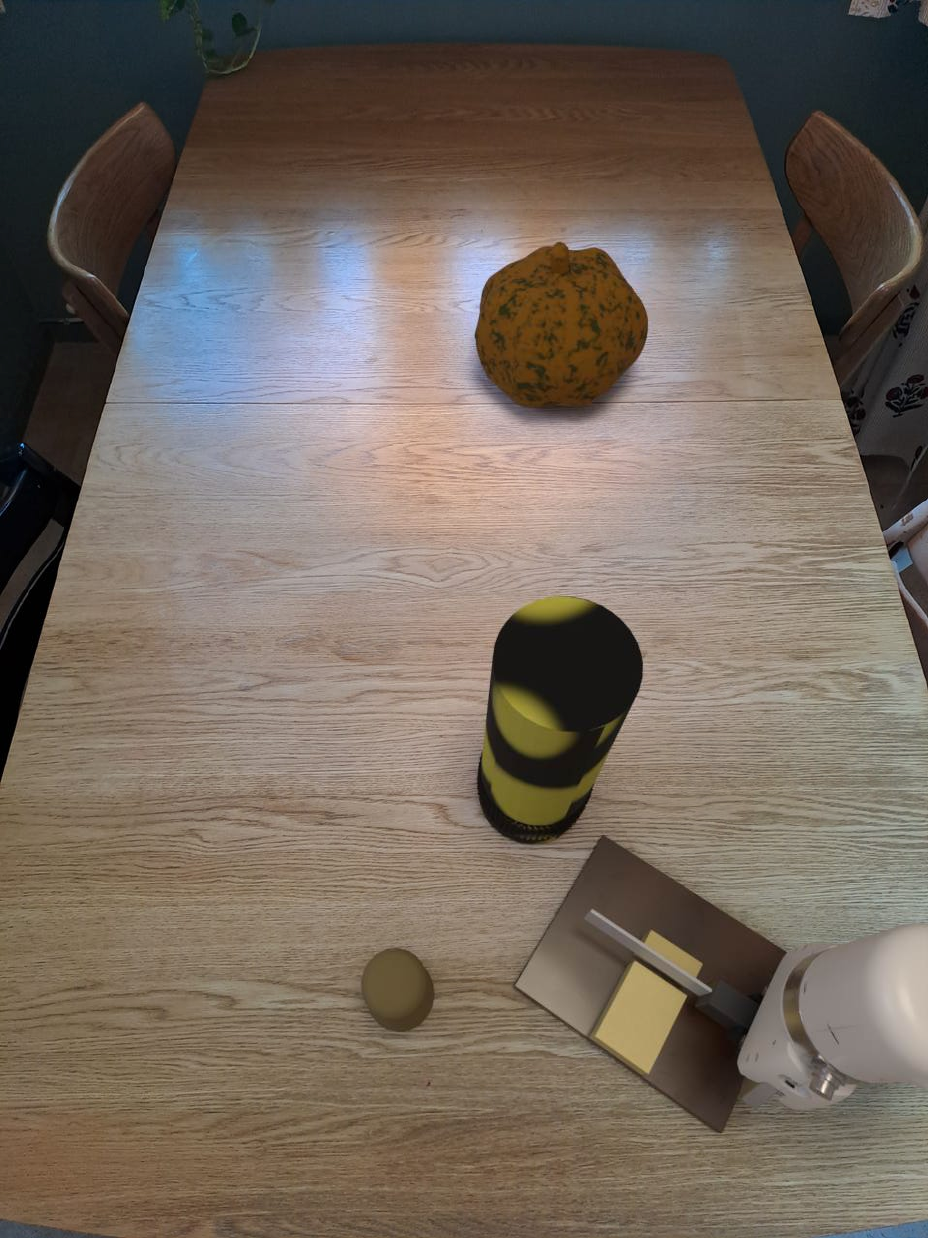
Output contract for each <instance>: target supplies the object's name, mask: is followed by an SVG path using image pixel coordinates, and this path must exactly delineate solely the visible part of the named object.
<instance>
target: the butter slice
mask: <svg viewBox="0 0 928 1238" xmlns="http://www.w3.org/2000/svg"><path fill="white" fill-rule="evenodd" d="M641 942H643V943H644V944H646V945H647V946H649V947H650V948H652V949H653V950H655V951H656V952H658V953H659V954H661V955H662V956H664V957H665V958H667V959H668V960H670V961H671V962H673V963H674V964H676V965H677V966H679V967H680V968H682V969H683V970H685V971H686V972H688V973H689V974H691V975H692V976H694V977H695V978H696V977H697V975H698V973H699V971H700V969H701V967H702V965H703V964H702V963H701V962H700V961H698V960H697V959H695V958H694V957H692V956H691V955H689V954H688V953H686V952H684V951H683V950H681V949H680V948H678V947H677V946H675V945H674V944H672V943H671V942H669V941H668V940H666V939H665V938H663V937H662V936H660V935H659V934H657V933H656V932H654V931H653V930H650V931H649V932H648V933H646V934H645V935H644V936H643V937H642V939H641ZM634 955H635V956H637V957H638V958H640V959H641V960H643V961H644V962H645V963H647V964H648V965H650V966H651V967H653V968H654V969H656V970H657V971H659V972H660V973H662V974H663V975H665V976H666V977H668V978H669V979H671V980H672V981H674V982H675V983H677V984H678V985H680V986H681V987H683V988H685V986H683V985H682V984H680V983H679V982H677V981H676V980H674V979H673V978H671V977H670V976H668V975H667V974H665V973H664V972H662V971H661V970H659V969H658V968H656V967H655V966H653V965H652V964H650V963H649V962H648V961H646V960H645V959H643V958H642V957H640V956H639V955H637V954H636V953H634Z"/></svg>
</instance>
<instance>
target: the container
mask: <svg viewBox="0 0 928 1238" xmlns="http://www.w3.org/2000/svg"><path fill="white" fill-rule="evenodd" d="M643 678H644V660H643V655H642V651H641V647H640V645H639V643H638V641H637V638H636V637H635V635H634V634H633V632H632V630H631V629H630V628H629V626H628V625H627V624H626V623H625V622H624V621H623V619H621V618H620V617H619V616H618V615H617V614H615V612H614V611H612V610H610V609H608V608H607V607H605V606H604V605H602V604H599V603H597V602H595V601H592V600H589V599H586V598H581V597H576V596H569V595H568V596H567V595H559V596H558V595H557V596H549V597H544V598H541V599H537V600H534V601H532V602H530V603H528V604H526V605H524V606H522V607H521V608H519V609H518V610H517V611H515V612H514V613H513V614H512V615H511V616H510V617H508V619H507V620H506V621H505V622H504V624H503V625H502V627H501V628H500V630H499V631H498V634H497V637H496V640H495V642H494V644H493V652H492V660H491V669H490V678H489V688H488V697H487V705H486V707H487V708H486V714H485V715H486V717H485V726H484V735H483V745H482V750H481V751H480V756H479V759H478V760H479V761H478V765H477V775H476V790H477V795H478V801H479V805H480V807H481V809H482V812H483V814H484V817H485V818H486V820H487V821H488V823H489V824H490V826H491V827H492V828H494V829H495V830H496V831H497V832H498V833H499V834H501V836H503V837H505V838H508V839H509V840H511V841H514V842H516V843H519V844H526V845H538V844H546V843H549V842H550V841H553V840H556V839H558V838H560V837H561V836H562V835H563V834H565V833H566V832H568V831H569V830H570V828H572V826H573V825H574V824H576V823H577V820H580V818H581V816H582V814H583V813H584V811H585V809H586V807H587V805H588V802H589V800H590V799H591V797H592V793H593V791H594V786H595V783H596V780H597V778H598V776H599V774H600V772H601V770H602V768H603V766H604V764H605V762H606V761H607V760H606V759H607V757H608V755H609V753H610V752H611V749H612V748H613V746H614V743H615V742H616V740H617V737H618V735H619V733H620V731H621V729H622V727H623V725H624V723H625V721H626V719H627V717H628V715H629V713H630V711H631V708H632V707H633V705H634V703H635V700H636V699H637V696H638V694H639V692H640V688H641V685H642V682H643Z"/></svg>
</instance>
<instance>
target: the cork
mask: <svg viewBox="0 0 928 1238" xmlns="http://www.w3.org/2000/svg"><path fill="white" fill-rule="evenodd" d="M360 985H361V995H362V997H363V1000H364V1002H365V1005H366V1006H367V1008H368V1010H369V1013H370V1015H371V1017H372V1018H373V1019H374V1021H375V1022H376V1023H377V1024H378V1025H379V1026H381V1028H384V1029H386V1030H387V1031H391V1032H396V1033H401V1032H408V1031H411V1030H413V1029H415V1028H417V1027H419V1026H420V1025H421V1024H422V1023H423V1022H424V1021H425V1020H426V1019H427V1018H428V1017H429V1014H430V1013H431V1010H432V1008H433V1006H434V1000H435V985H434V982H433V980H432V976H431V975H430V973H429V971H428V970H427V969H426V968H425V967H424V965H423V962H422V961H421V960H420V959H419V957H418V956H417V955H416V954H414V953H412V952H411V951H409V950H407V949H404V948H399V947H392V948H386V949H384V950H382V951H380V952H378V953H376V954H375V955H374V956H373V957H372V958H371V959H370V960H368V963H367V964H366V966H365V967H364V970H363V972H362V977H361V981H360Z"/></svg>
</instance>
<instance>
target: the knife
mask: <svg viewBox="0 0 928 1238" xmlns="http://www.w3.org/2000/svg"><path fill="white" fill-rule="evenodd" d="M584 919H585V920H587V921H588V922H590V923H591V924H593V925H594V926H596V927H597V928H599V929H600V930H602V931H603V932H604V933H606V934H607V935H609V936H610V937H612V938H613V939H615V940H616V941H618V942H619V943H621V944H622V945H624V946H625V947H627V948H628V949H630V950H631V951H633V952H634V953H636V954H637V955H639V956H640V957H642V958H643V959H645V960H646V961H648V962H649V963H650V964H652V965H653V966H655V967H656V968H658V969H659V970H661V971H662V972H664V973H665V974H667V975H668V976H670V977H671V978H673V979H674V980H676V981H677V982H679V983H680V984H682V985H683V986H685V987H686V988H688V989H689V990H691V991H692V992H694V993H695V994H696V995H698V996H699V998H698V1000H697V1002H696V1004H695V1008H697V1009H698V1010H700V1011H701V1012H703V1013H704V1014H706V1015H707V1016H709V1017H710V1018H712V1019H713V1020H715V1021H716V1022H717V1023H719V1024H720V1025H722V1026H723V1027H725V1028H726V1029H728V1030H732V1029H739V1028H746V1029H748V1030H750V1028H751V1025H752V1023H753V1021H754V1018H755V1016H756V1014H757V1012H758V1009H759V1007H760V1005H759V1004H757V1003H756V1002H755V1001H753V1000H752V999H750V998H749V997H747V996H746V995H744V994H743V993H741V992H740V991H738V990H737V989H735V988H734V987H732V986H731V985H729V984H728V983H726V982H725V981H723V980H722V979H720V978H719V979H717V980H714V981H711V982H708V983H706V984H704V983H702V982H701V981H700V980H698V979H697V978H695V977H694V976H692V975H691V974H689V973H688V972H686V971H685V970H683V969H682V968H680V967H679V966H677V965H676V964H674V963H673V962H671V961H670V960H668V959H667V958H665V957H664V956H662V955H661V954H659V953H658V952H656V951H655V950H653V949H652V948H650V947H649V946H647V945H646V944H644V943H643V942H641V941H640V940H638V939H637V938H635V937H634V936H632V935H631V934H629V933H628V932H626V931H625V930H623V929H622V928H620V927H619V926H617V925H616V924H614V923H613V922H611V921H610V920H608V919H607V918H605V917H604V916H602V915H601V914H599V913H598V912H596V911H595V910H593V909H591V910H590V912H589V913H588V914H587V915H586V916H585V918H584Z"/></svg>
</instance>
